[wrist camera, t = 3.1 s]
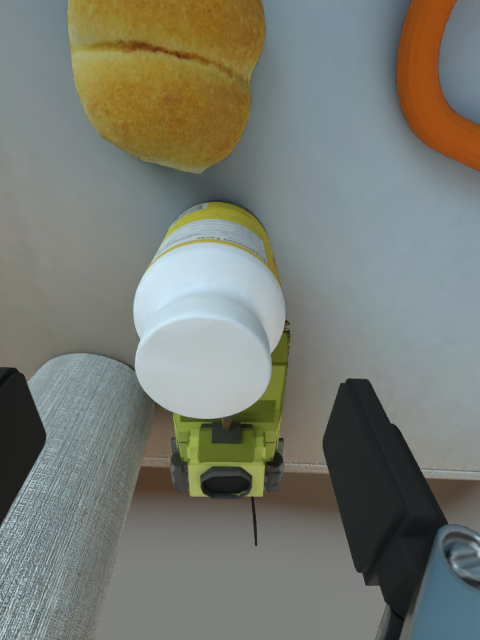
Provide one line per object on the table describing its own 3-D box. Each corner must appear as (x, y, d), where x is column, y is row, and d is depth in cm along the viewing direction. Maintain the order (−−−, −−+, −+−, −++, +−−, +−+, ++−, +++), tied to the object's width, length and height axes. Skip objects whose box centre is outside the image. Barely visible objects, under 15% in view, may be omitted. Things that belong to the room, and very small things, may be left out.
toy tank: (289, 299, 23) (318, 411, 15) (273, 437, 31) (286, 560, 23) (168, 298, 23) (129, 410, 15) (184, 437, 31) (164, 560, 23)
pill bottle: (222, 310, 24) (212, 457, 14) (146, 251, 21) (68, 379, 11) (291, 246, 21) (338, 370, 11) (213, 170, 19) (188, 245, 9)
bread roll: (279, -46, 14) (292, -92, 11) (235, 178, 19) (235, 194, 15) (74, -111, 13) (18, -186, 10) (83, 143, 18) (47, 152, 14)
